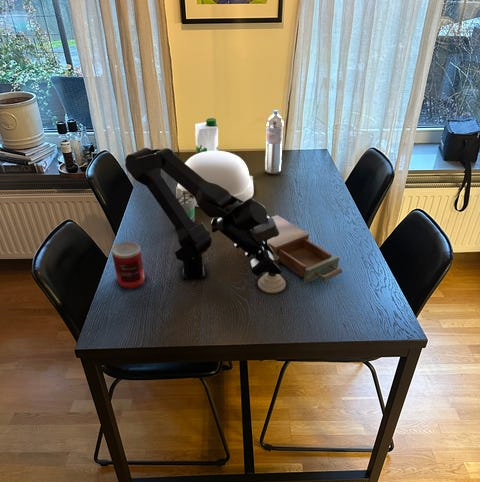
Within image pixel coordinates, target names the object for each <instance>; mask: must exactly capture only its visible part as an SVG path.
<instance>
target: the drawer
mask: <svg viewBox="0 0 480 482" xmlns="http://www.w3.org/2000/svg"><path fill="white" fill-rule="evenodd" d="M277 255H278V256H279V261H280V263H281V264H283V265H284V266H286V267H287V268H288V269H290V270H291V271H293V272H294V273H295V274H297V275H299V276H300V277H302V278H303V282H304V283H306V284H308V283H310V282H313V281H315V280H316V279H319V278H320V279H321V281H322V282H325V281H328V280H330V279H331V278H334V277H336V276H338V275H340V274H342V273H343V269H342V268H340V267H339V264H340V263H339V261H340V256H339V255H338V254H337V255H334V256H332V253H330V252H329V251H327V250H325V249H323V247H320V246H319V245H317V244H316V243H314V242H312V241H311V240H310V239H309V240H307V239H306V238H304V239H301V240H299V241H296V242H294V243H291V244H289V245H286V246H284V247H281V248H279V249H277Z"/></svg>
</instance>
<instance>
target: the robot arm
mask: <svg viewBox="0 0 480 482" xmlns="http://www.w3.org/2000/svg"><path fill="white" fill-rule="evenodd" d="M124 162H125V164H124V166H125V169H126V171H127V172H128V173H129V174H130V176H132V178H133V179H134V180H135V181H137V182H138V183H139V184H142V185H144V186H145V187H146V188H147V189H148V190H149V192H150V193H151V195H152V196H153V198H154V199H155V200H156V202H157V204H158V205H159V206H160V208H161V210H162V211H163V212H164V213H165V215H166V217H167V218H168V220H169V221H170V222H171V224H172V225H173V227H174V228H176V229H175V231H176V230H177V231H176V232H177V241H178V244H179V246H180V248H178V249H177V250H176V251H175V252H174V255H175V257H176V260H178V261H181V262H182V266H181V269H182V270H181V273H182V279H183V280H192V279H203V278H205V277H206V274H205V273H206V272H205V266H204V263H203V254H204V253H205V252H207V251H208V249H209V248H210V247H211V246H212V241H213V240H212V237H211V233H216V232H218V231H219V232H220V233H221V234H222V235H224V236H225V237H226V238H228V239H229V240H230V241H231V242H232V243H234V248H236V249H237V250H238V249H241V250H242V251H243V252H244V254H245V256H246V257H247V258H250V257H251V256H252V257H253V258H252V259H250V260H249V261H250V262H249V266H250V271H251V273H252V274H253V275H254V276H255V277H259V276H261V275H262V274H263V273H274V274H279V275H281V273H282V272H283V271H282V269H281V268H280V267H279V265H278V264H277V265H276V264H275V262H274V257H273V254H275V253H274V251H273V250H272V249H271V247H270V246H269V244H268V243H267V240H269V239H271V238H273V237H277V236H278V235H279V234H280V233H279V230H278V227H277V225H276V223H275V221H274V219H273V218H272V217H273V216H269V215H268V212H267V209H266V207H265V206H264V205H263V204H262V203H261V202H259V201H257V200H255V199H254V198H253V196H252V197H251V198H249V199H247V200H246V201H245V202H243V201H242V200H240V199H238V198H236V197H235V196H233V195H231V194H230V193H229V192H228V191H227V190H225V189H224V188H222V187H221V186H219V185H217V184H214V183H210V182H207V181H206V180H204V179H203V178H202V177H200V176H199V175H198V174H197V173H196V172H195V171H193V170H192V169H191V168H190V167H189V166H187V165H186V164H185V163H186V162H184V161H183V160H182V159H181V158H179V157H178V156H177V155H175V153H174V151H173V150H172V149H171V148H168V147H165V148H154V149H151V148H148V147H143V148H140V149H138V150H136V151H134V152H131V153H129V154H127V155H126V157H125V160H124ZM162 171H163V172H164V173H166V174H167V175H168V176H169V177H170V178H171V179H172V180H173V181H175V183H177V184H178V183H179V184H180V185H181V186H182V187H183V188H185V189H186V190H187V191H188V192H189V193H191V194H192V195H193V196H194V197H195V199H196V202H197V205H198V206H199V207H198V208H199V209H200V210H201V211H202V212H203V213H204V215H206V216H207V217H209V218H211V219H212V220H211V223H210V225H211V232H210V231H209V230H208V229H207V228H206V225H205V223H203V222H202V221H201V222H199V223H198V222H195V220H194V221H192V220H191V218H190V217H189V216H188V214H187V213H186V211H185V210H184V208H183V207H182V205H181V204H180V202H179V201H178V199H179V198H176V194H175V193H174V192H173V190H172V189H171V186H169V184H168V183H167V182H166V180H165V179H164V177H163V174H162Z"/></svg>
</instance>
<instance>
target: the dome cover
mask: <svg viewBox="0 0 480 482" xmlns="http://www.w3.org/2000/svg"><path fill="white" fill-rule="evenodd" d="M184 163H185V164H186V165H187V166H189V167H190V168H191V169H192V170H193V171H195V172H196V173H197V174H198V175H199V176H200V177H202V178H203V179H204V180H206V181H207V182H210V183H214V184H217V185H219V186H221V187H222V188H224V189H225V190H227V191H228V192H229V193H230V194H231V195H233V196H235V197H236V198H238V199H240V200H242V201H243V202H245V201H246V200H247V199H249V198H251V197H252V198H253V196H254V192H255V191H254V176H253V175H250V172H249V168H248V166H247V164H246V162H245V161H244V160H243V158H241V157H240V156H238V155H236V154H235V153H232V152H228V151H224V150H218V151H206V152H202V153H198V154H197V153H196V154H193V155H192V156H190V157H189V158H188V159H187V160H186V161H185V162H184ZM183 191H187V190H186V189H185V188H183V187H182V186H181V185H180V184H179V183H178V182H177V186H176V187H175V196H176V198H177V199H179V198H180V197H181V195H182V194H183ZM195 207H196V208H200V207H199V206H198V205H197V202H196V205H195Z"/></svg>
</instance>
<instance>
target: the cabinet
mask: <svg viewBox="0 0 480 482" xmlns="http://www.w3.org/2000/svg"><path fill="white" fill-rule="evenodd" d="M271 217H272V218H273V219H274V221H275V223H276V225H277V227H278V230H279V233H280V234H279V235H278V236H277V237H273V238H271V239H269V240H267V243H268V244H269V246H270V247H271V249H272V250H273V251H274V253H275V254H276V255H277V249H279V248H281V247H284V246H286V245H289V244H291V243H294V242H296V241H299V240H301V239H304V238H306V239H307V240H309V241H310V239H309V238H310V234H309V233H308V232H306V231H304V230H303V229H301V228H300V227H297V226H296V225H295V224H293V223H291V222H290V221H288V220H286V219H284V218H283V217H281V216H280V215H278V214H276V215H273V216H271ZM279 263H281V262H280V261H279V260H278V262H277V264H279Z"/></svg>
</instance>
